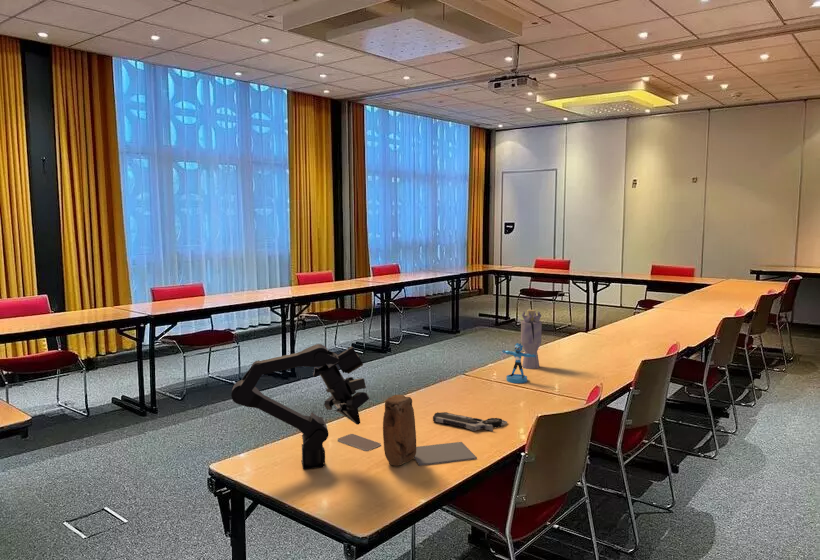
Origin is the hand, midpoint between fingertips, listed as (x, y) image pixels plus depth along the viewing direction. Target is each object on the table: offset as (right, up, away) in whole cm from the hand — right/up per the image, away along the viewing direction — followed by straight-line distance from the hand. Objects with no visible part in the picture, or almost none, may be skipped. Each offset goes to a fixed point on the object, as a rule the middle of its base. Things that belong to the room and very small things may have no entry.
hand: (358, 423), depth 184 cm
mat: (+26, -11, +6) cm, 29 cm away
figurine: (+67, -3, +93) cm, 115 cm away
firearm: (+38, -9, +36) cm, 53 cm away
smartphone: (-1, -11, +17) cm, 20 cm away
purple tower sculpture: (+78, 0, +120) cm, 143 cm away
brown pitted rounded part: (+13, -12, +1) cm, 18 cm away
